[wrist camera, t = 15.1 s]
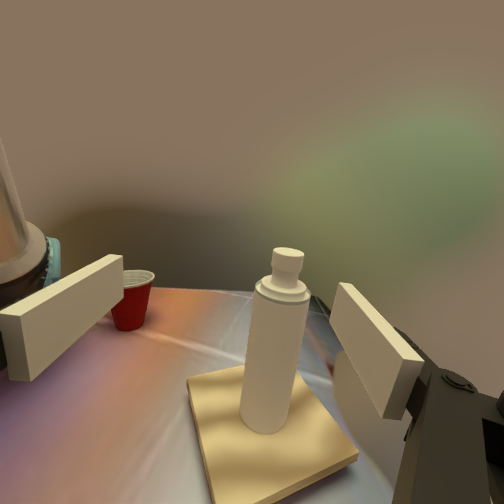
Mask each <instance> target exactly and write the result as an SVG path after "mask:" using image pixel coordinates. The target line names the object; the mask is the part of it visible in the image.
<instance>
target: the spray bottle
mask: <svg viewBox="0 0 504 504" xmlns="http://www.w3.org/2000/svg"><path fill="white" fill-rule="evenodd" d="M303 259H304V253H303V252H301V251H299V250H295V249H291V248H275V249H274V250H273V256H272V263H271V266H272V267H273V271H272V275H270V276H266V277H264V278H262V280H259V281H258V282H257V283H256V286H255V292H254V299H253V307H252V314H251V322H250V330H249V337H248V345H247V353H246V361H245V369H244V376H243V384H242V392H241V400H240V415H241V418H242V420H243V422H244V423H245V424H246V425H247V426H248V427H249V428H250V429H251V430H253V431H255V432H258V433H261V434H271V433H275V432H277V431H279V430H280V429H281V428H282V427H283V426H284V424H285V422H286V419H287V414H288V409H289V404H290V399H291V394H292V389H293V384H294V379H295V374H296V369H297V364H298V359H299V354H300V348H301V343H302V338H303V333H304V328H305V323H306V317H307V312H308V307H309V302H310V297H311V293H310V291H309V290H308V289H307V288H306V286H305V284H304V283H303V282H301V281H299V280H298V274H299V272H300V271H301V270H302V265H303ZM259 283H260V284H259ZM306 291H307V292H308V293H307V292H306ZM309 295H310V296H309Z"/></svg>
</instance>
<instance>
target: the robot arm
mask: <svg viewBox="0 0 504 504" xmlns="http://www.w3.org/2000/svg"><path fill="white" fill-rule="evenodd" d="M59 278H60V243H59V241H58V240H57V239H55V238H49V237H44V235H43V233H42V232H41V231H40V230H39V229H38V228H37V227H36V226H34V225H32V224H31V223H29V222H27V221H25V217H24V214H23V211H22V207H21V204H20V200H19V198H18V194H17V190H16V187H15V184H14V181H13V177H12V174H11V170H10V167H9V163H8V160H7V157H6V154H5V150H4V147H3V143H2V140H1V137H0V371H1V370H2V369H4V368H5V367H6V366H7V371H8V376H9V380H16V381H25V382H31V381H32V380H34V379H35V378H36V377H37V376H38V375H39V374H40V373H41V372H42V371H43V370H45V369H46V368H47V367H48V366H49V365H50V364H51V363H52V362H53V361H54V360H56V359H57V358H58V357H59V356H60V355H61V354H62V353H63V352H64V351H65V350H67V349H68V348H69V347H70V346H71V345H72V344H73V343H74V342H75V341H76V340H78V339H79V338H80V337H81V336H82V335H83V334H84V333H85V332H86V331H87V330H89V329H90V328H91V327H92V326H93V325H94V324H95V323H96V322H97V321H98V320H100V319H101V318H102V317H103V316H104V315H105V314H106V313H107V312H108V311H109V310H111V309H112V308H113V307H114V306H115V305H116V304H117V303H118V302H119V301H120V300H122V299H123V298H124V287H123V256H120V255H111V254H109V255H107V256H105V257H103V258H102V259H100V260H98V261H96V262H94V263H92V264H90V265H88V266H86V267H84V268H82V269H80V270H78V271H77V272H75V273H73V274H71V275H69V276H67V277H65V278H63V279H61V280H60V279H59ZM329 322H330V324H331V326H332V328H333V330H334V331H335V333H336V335H337V337H338V339H339V341H340V342H341V344H342V346H343V348H344V350H345V352H346V354H347V355H348V357H349V359H350V361H351V363H352V365H353V366H354V368H355V370H356V372H357V374H358V376H359V378H360V379H361V381H362V383H363V385H364V387H365V389H366V390H367V392H368V394H369V396H370V398H371V400H372V402H373V404H374V405H375V407H376V409H377V411H378V413H379V415H380V416H381V418H382V419H391V420H401V419H402V417H403V414H404V412H405V409H406V408H407V410H408V411H409V413H410V414H411V416H412V417H413V418H412V421H411V423H410V425H409V428H408V430H407V433H406V435H405V437H404V441H405V442H406V443H405V448H404V452H403V456H402V461H401V465H400V469H399V474H398V478H397V483H396V487H395V491H394V496H393V500H392V504H491V501H490V496H491V499H492V501H493V504H504V391H503V392H502V393H501V395H500V397H499V399H497V398H494V397H491V396H488V395H484V394H481V393H478V391H477V389H476V388H475V387H474V386H473V384H472V383H471V382H469V381H468V380H466V379H465V378H464V377H462V376H460V375H458V374H456V373H455V372H452V371H449V370H446V369H441V368H438V366H437V365H436V364H434V362H433V361H432V360H431V359H429V357H428V356H427V355H426V354H425V353H424V352H423V351H422V350H420V349H419V347H418V346H417V345H416V344H415V343H413V341H412V340H411V339H410V338H409V337H408V336H407V335H406V334H404V333H403V332H401V331H400V330H398V329H397V328H395V327H392V326H391V325H390V324H389V323H388V322H387V321H386V320H385V319H384V318H383V317H382V316H381V315H380V314H379V313H378V312H377V311H376V309H375V308H374V307H373V306H372V305H371V304H370V303H369V302H368V301H367V300H366V299H365V298H364V297H363V296H362V295H361V294H360V293H359V292H358V291H357V289H355V287H354V286H353V285H352V284H348V283H339V284H338V289H337V292H336V296H335V301H334V305H333V309H332V312H331V316H330V320H329Z"/></svg>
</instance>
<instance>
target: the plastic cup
mask: <svg viewBox="0 0 504 504" xmlns="http://www.w3.org/2000/svg"><path fill="white" fill-rule="evenodd" d="M154 277H155V275H154V274H153V273H151V272H149V271H143V270H128V271H123V287H124V298H123V299H122V300H120V301H119V302H118V303H117V304H116V305H115V306H114V307H113V308H112V309H111V312H112V316H113V318H114V322H115V326H116V328H117V329H119V330H121V331H132V330H135V329H138V328H140V327H141V326H142V324H143V322H144V319H145V313H146V310H147V305H148V299H149V294H150V289H151V284H152V281H153V279H154Z"/></svg>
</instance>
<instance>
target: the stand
mask: <svg viewBox="0 0 504 504" xmlns="http://www.w3.org/2000/svg"><path fill="white" fill-rule="evenodd" d="M244 369H245V365H241V366H237V367H232V368H228V369H223V370H219V371H214V372H209V373H205V374H200V375H196V376H191V377H187V389H188V394H189V398H190V403H191V407H192V412H193V416H194V421H195V426H196V430H197V435H198V439H199V444H200V448H201V453H202V457H203V462H204V467H205V471H206V476H207V480H208V485H209V489H210V494H211V498H212V503H213V504H274V503H276V502H278V501H280V500H282V499H284V498H286V497H288V496H290V495H292V494H294V493H295V492H297V491H299V490H301V489H303V488H305V487H307V486H309V485H311V484H313V483H315V482H317V481H319V480H321V479H323V478H325V477H327V476H329V475H331V474H333V473H335V472H337V471H339V470H341V468H343V467H345V466H347V465H349V464H351V463H353V462H355V461H357V458H358V455H359V451H358V450H357V449H356V447H355V446H354V445H353V443H352V442H351V441H350V440H349V438H348V437H347V436H346V434H345V433H344V432H343V431H342V429H341V428H340V427H339V426H338V424H337V423H336V422H335V420H334V419H333V418H332V417H331V415H330V414H329V413H328V411H327V410H326V409H325V408H324V406H323V405H322V404H321V402H320V401H319V400H318V399H317V397H316V396H315V395H314V394H313V392H312V391H311V390H310V388H309V387H308V386H307V385H306V383H305V382H304V381H303V379H302V378H301V377H300V376H299V374H298V373H297V372H296V374H295V379H294V384H293V389H292V394H291V399H290V404H289V409H288V414H287V419H286V422H285V424H284V426H283V427H282V428H281V429H280V430H279V431H277V432H275V433H271V434H261V433H258V432H255V431H253V430H251V429H250V428H249V427H248V426H247V425H246V424H245V423H244V422H243V420H242V418H241V415H240V400H241V392H242V384H243V376H244Z"/></svg>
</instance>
